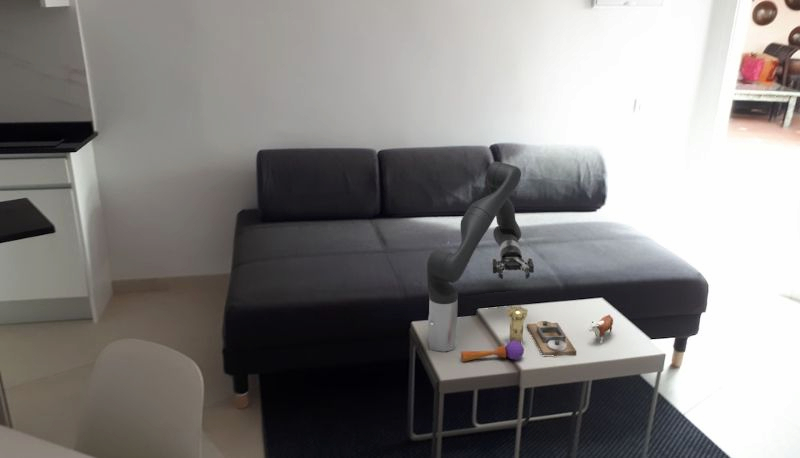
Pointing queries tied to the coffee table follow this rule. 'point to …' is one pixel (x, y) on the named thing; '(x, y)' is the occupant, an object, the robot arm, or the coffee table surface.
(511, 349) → the kendama
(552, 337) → the board
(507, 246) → the robot arm
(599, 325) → the bull figurine
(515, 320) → the brass pinion
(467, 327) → the coffee table surface
